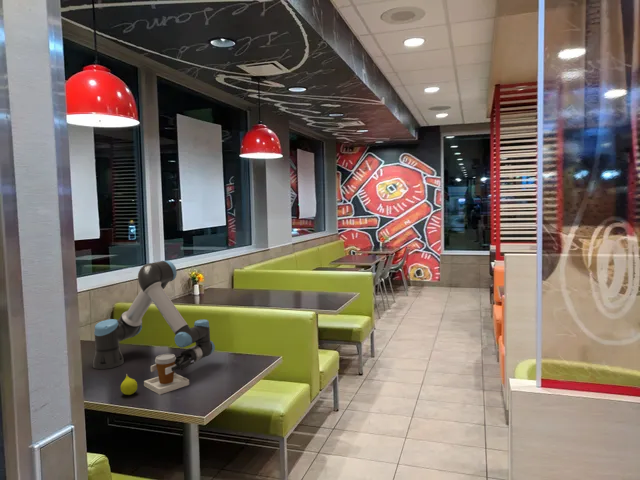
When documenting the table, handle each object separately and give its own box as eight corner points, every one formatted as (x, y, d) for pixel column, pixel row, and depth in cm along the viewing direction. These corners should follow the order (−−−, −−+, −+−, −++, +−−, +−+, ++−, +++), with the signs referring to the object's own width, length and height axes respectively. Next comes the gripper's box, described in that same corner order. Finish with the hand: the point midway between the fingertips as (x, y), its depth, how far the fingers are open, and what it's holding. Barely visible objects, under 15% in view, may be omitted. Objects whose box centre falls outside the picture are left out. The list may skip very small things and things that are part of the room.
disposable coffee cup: (170, 386, 213) (169, 360, 212) (151, 384, 215) (150, 359, 214) (180, 378, 222) (179, 353, 222) (162, 377, 224) (161, 353, 223)
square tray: (144, 386, 219) (143, 381, 218) (173, 377, 229) (172, 372, 229) (159, 394, 208) (159, 389, 208) (189, 384, 219) (189, 379, 219)
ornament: (126, 391, 213) (125, 369, 213) (140, 391, 213) (139, 370, 212) (117, 397, 206) (116, 375, 205) (132, 397, 205) (131, 375, 205)
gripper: (208, 365, 231) (176, 381, 210) (175, 360, 239) (141, 375, 219) (207, 350, 230) (175, 365, 209) (174, 345, 239) (141, 359, 218)
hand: (158, 370), depth 214 cm, fingers closed on disposable coffee cup, 8 cm apart
